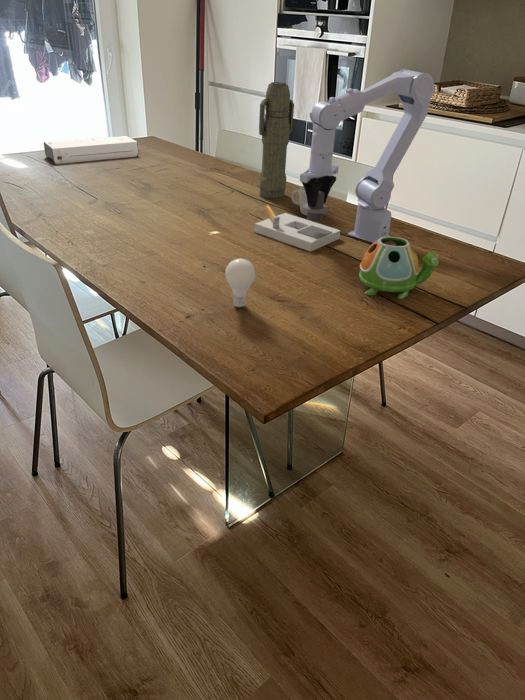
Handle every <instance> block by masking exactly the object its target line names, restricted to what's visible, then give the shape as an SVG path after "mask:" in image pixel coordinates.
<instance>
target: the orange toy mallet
mask: <svg viewBox="0 0 525 700" xmlns="http://www.w3.org/2000/svg"><path fill="white" fill-rule="evenodd" d="M265 212H266V213H267V214H268V217H269V218H271V219H272V221H273V228H279V219H280V217H278V215H276V214H275V213H274V211H273V209H272V208H271V207H270V205H268V204H266V205H265Z"/></svg>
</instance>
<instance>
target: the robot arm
mask: <svg viewBox="0 0 525 700" xmlns="http://www.w3.org/2000/svg"><path fill="white" fill-rule="evenodd" d="M435 92H436V87H435V83H434V78H433V77H432V75H430V73H427V72H420V71H415V70H411V69H408V68H403V69H401V70H399V71H395V72H393V73H391V75H389V76H387V77H386V78H383V79H381V80H380V81H378V82H376V83H374V84H372V85H370V86H368V87H366V88H365V89H363V90H359V89H358V88H351V87H350V88H349V87H348V88H347V89H345V92H344V93H342V94H340V95H338V96H335V97H334V96H331V97H329V99H328V101H324V100H323V101H322V100H321V101H318V102H316V103H315V104H314V106H312V109H311V112H310V113H309V118H310V121H311V122H312V132H311V133H312V135H311V146H310V157H309V168H307V170H305V171H304V172H302V173H301V174H300V176H299V182H300V183H301V184H302V186H304V189H305V192H306V196H307V202H308V206H311V207H315V206H316V203H317V198H318V193H319V191H323V192H324V193H325V196H324V204H323V205H325V204H326V202H327V199H328V197H329V194H330V191H331V190H332V187H333V186H334V184H335V182H336V181H337V176H335V175H337V174H338V173H339V165H335V164H333V157H334V156H333V154H334V147H335V138H336V128H338V126H339V125H340V124H341V122H343V121H344V120H347V119H349V118H351V117H354V116H355V115H357V114H360V113H362V112H363V111H364V109H365V107H366V105H367V104H370V103H373V102H376V101H378V100H380V99H382V98H386V97H388V96H391V95H396V96H397V97H398V99H399V100H400V102H401V103H402V108H403V111H404V113H403V115H402V117H401V118H400V120H399V122H398V124H397V126H396V128H395V130H394V131H393V133H392V135H391V137H390V139H389V141H388V142H387V145H386V146H385V147H384V149H383V152H382V153H381V155H380V157H379V159H378V161H377V162H376V165H375V166H374V167H373V168H372V169H369V170H368V171H366V173H365V174H364V176H363V177H362V178H361V179H360V180H359V181H358V182H357V183H356V186H355V190H354V191H355V196H356V197H357V202H358V203H357V210H356V217H355V223H354V230H353V231H350V232H348V233H347V235H348V236H350V237H354V238H357V239H361V240H362V241H366V242H370V243H372V244H373V243H374V242H376V241H377V240H378V239H379V238H381V237H390V235H389V234H390V226H391V222H392V212H391V211H390V210H388V209H386V206H387V205H388V204H389V203H390V200H391V197H392V192H393V189H394V187H395V182H394V180H393V179H394V178H393V176H394V175H395V173H396V171H397V169H398V168H399V166H400V164H401V162H402V161H403V159H404V157H405V155H406V153H407V152H408V150H409V147H410V146H411V144H412V142H413V141H414V139H415V137H416V135H417V134H418V132H419V129H420V128H421V127H422V125H423V122H424V121H425V119H426V117H427V116H428V112H429V108H430V101H431V98H432V96H433V95H434V93H435Z"/></svg>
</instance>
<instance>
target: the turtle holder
mask: <svg viewBox="0 0 525 700" xmlns="http://www.w3.org/2000/svg"><path fill="white" fill-rule="evenodd" d="M388 242H393V244H386V243H388ZM410 244H411V243H410V242H409V240H408V239H406V238H403V237H398V236H389V237H381V238H379V239H378V240H377V241H376V242H374V243H372V244H371V245H370V246H369V247H368V249H367V250H366V251H365V253H364V255H363V256H362V257H363V258H362V260H361V262H360V263H359V273H358V277H359V280H360V282H361V283H362V284H363V285H365V286H366V287H368V288H369V289H367V290H365V292H364V294H365V295H367V296H376V295H377V293H378V292H379V291H381V292H388V293H399V294H397V296H396V297H397V299H398V300H405V299H407V297H408V295H409V293H410V291H411V290H413V289H414V288H415V287H416V285H420V284H421V285H422V284H423V283H425V282H426V281H427V280H428V279H429V278H430V277H431V275H432V274H433V272H434V269H436V268H437V267H438V266H439V264H440V261H439V260H440V259H439V254H438V252H432V251H429V252H428V253H426V254H425V255H424V256H423V257H422V260H421V261H422V266H421V269H420V271H419V267H420V266H419V258H418V256H417V253H416V251H415V250H414V248H413V247H412V245H410Z"/></svg>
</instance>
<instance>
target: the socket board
mask: <svg viewBox="0 0 525 700" xmlns="http://www.w3.org/2000/svg"><path fill="white" fill-rule="evenodd" d="M277 216H278V217H280V219H279V228H273V221H272V219H271V218H270V217H269V218H267V219H264V220H261V221H257V222H255V223H254V233H256V234H259V235H262V236H266V237H268V238H271V239H274V240H276V241H279V242H282V243H284V244H288V245H290V246H293V247H296V248H299V249H301V250H305V251H308V252H313V251H315V250H317V249H320V248H322V247H324V246H326V245H329V244H332V242H336V241H337V240H340V237H341V230H340V229H337V228H335V227H331V226H328V225H325V224H322V223H319V222H317V221H310V220H308V219H307V218H306V219H305V218H302V217H299V216H296V215H294V214H290V213H287V212H284V213H281V214H278V215H277Z"/></svg>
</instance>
